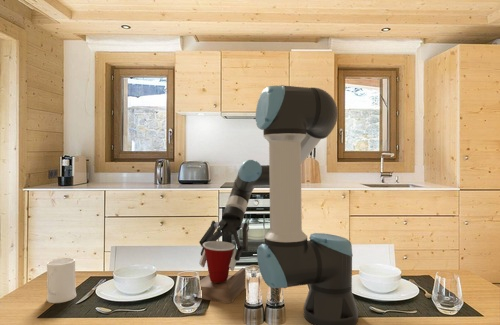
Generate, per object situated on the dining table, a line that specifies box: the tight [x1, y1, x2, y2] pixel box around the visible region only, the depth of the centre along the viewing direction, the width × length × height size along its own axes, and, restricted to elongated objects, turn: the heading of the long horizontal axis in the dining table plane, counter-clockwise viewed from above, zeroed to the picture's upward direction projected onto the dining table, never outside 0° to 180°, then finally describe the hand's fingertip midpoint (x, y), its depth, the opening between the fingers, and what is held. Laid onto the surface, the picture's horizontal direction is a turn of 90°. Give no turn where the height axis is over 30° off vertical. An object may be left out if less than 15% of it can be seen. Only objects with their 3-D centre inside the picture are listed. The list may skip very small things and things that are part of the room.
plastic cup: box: [202, 240, 237, 283], centre depth 120 cm, size 11×11×12 cm
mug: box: [46, 257, 77, 304], centre depth 116 cm, size 12×8×12 cm
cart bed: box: [199, 267, 246, 304], centre depth 121 cm, size 13×13×7 cm
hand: (216, 267), depth 118 cm, fingers closed on plastic cup, 10 cm apart
